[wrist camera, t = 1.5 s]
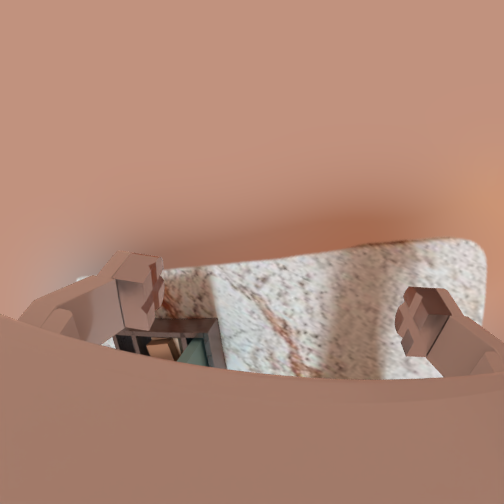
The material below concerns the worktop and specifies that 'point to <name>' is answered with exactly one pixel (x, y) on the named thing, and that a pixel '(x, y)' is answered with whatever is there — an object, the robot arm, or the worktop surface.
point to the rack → (180, 328)
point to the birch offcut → (176, 341)
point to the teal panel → (195, 353)
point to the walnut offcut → (163, 349)
